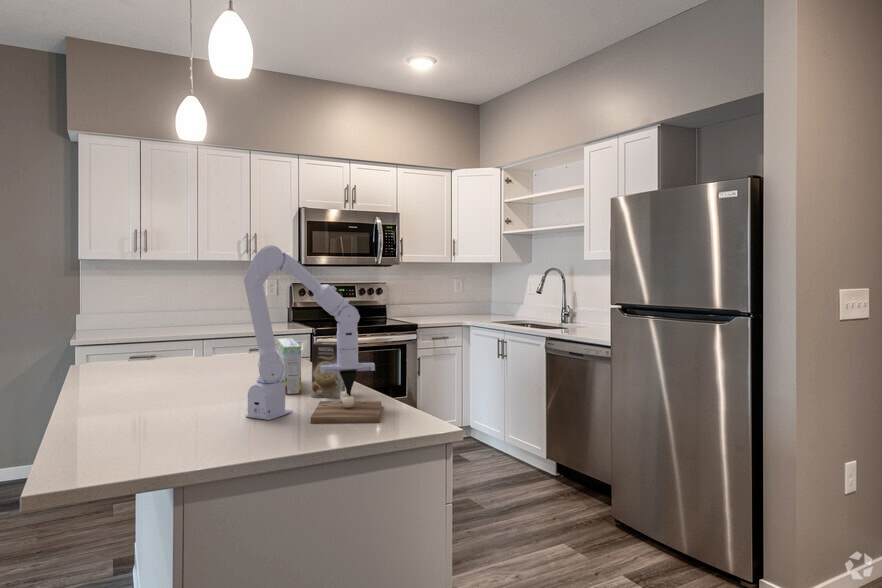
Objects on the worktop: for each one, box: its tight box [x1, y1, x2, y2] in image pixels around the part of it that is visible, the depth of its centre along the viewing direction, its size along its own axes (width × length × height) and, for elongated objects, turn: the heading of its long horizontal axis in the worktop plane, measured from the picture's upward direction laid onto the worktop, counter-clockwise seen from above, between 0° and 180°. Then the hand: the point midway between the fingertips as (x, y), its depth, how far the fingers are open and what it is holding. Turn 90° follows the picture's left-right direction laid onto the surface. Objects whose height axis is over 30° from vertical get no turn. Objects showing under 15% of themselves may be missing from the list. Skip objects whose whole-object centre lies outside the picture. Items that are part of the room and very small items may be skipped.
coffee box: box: [310, 341, 346, 399], centre depth 178 cm, size 9×6×16 cm
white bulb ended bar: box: [339, 390, 355, 407], centre depth 159 cm, size 10×3×2 cm, turn 20°
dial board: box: [310, 400, 383, 424], centre depth 155 cm, size 18×17×2 cm
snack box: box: [277, 337, 302, 396], centre depth 189 cm, size 21×6×15 cm, turn 21°
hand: (348, 398), depth 161 cm, fingers closed, pressing on white bulb ended bar
